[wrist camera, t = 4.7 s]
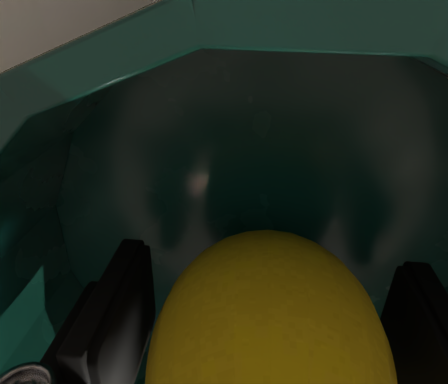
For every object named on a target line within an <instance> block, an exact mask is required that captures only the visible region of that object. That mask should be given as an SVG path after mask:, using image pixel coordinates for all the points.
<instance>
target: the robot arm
mask: <svg viewBox="0 0 448 384" xmlns="http://www.w3.org/2000/svg"><path fill="white" fill-rule="evenodd" d="M155 317H156V307H155V295H154V284H153V273H152V261H151V250H150V246H149V245H145V244H144V241H143V240H135V239H123V240H122V241H121V243H120V245H119V247H118V248H117V250H116V252H115V253H114V255H113V257H112V259H111V260H110V262H109V264H108V265H107V267H106V269H105V271H104V272H103V274H102V276H101V278H100V279H99V281H98V282H97V281H91V282H89V283H88V284H87V286H86V287H85V289H84V290H83V292H82V294H81V295H80V297H79V298H78V300H77V302H76V303H75V305H74V307H73V308H72V310H71V311H70V313H69V315H68V316H67V318H66V320H65V321H64V323H63V325H62V326H61V328H60V329H59V331H58V333H57V334H56V336H55V338H54V339H53V341H52V343H51V344H50V346H49V347H48V349H47V351H46V352H45V354H44V356H43V357H42V359H41V360H40V362H34V361H33V362H26V363H22V364H19V365H16V366H14V367H11V368H10V369H8V370H7V371H5V372H3V373H2V374H0V384H134V382H135V379H136V376H137V373H138V370H139V367H140V364H141V361H142V358H143V355H144V352H145V349H146V346H147V343H148V340H149V337H150V334H151V331H152V329H153V326H154V322H155ZM380 321H381V324H382V326H383V328H384V331H385V334H386V336H387V339H388V341H389V345H390V348H391V352H392V355H393V360H394V365H395V370H396V376H397V384H448V293H447V291H446V290H445V288H444V287H443V285H442V283H441V282H440V280H439V278H438V277H437V275H436V273H435V272H434V270H433V268H432V267H431V265H430V264H429V263H424V262H412V261H406V262H404V263H403V266H398V267H397V268H396V270H395V273H394V276H393V280H392V283H391V286H390V289H389V292H388V295H387V299H386V302H385V305H384V308H383V311H382V314H381V317H380Z"/></svg>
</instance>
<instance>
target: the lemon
mask: <svg viewBox="0 0 448 384" xmlns="http://www.w3.org/2000/svg"><path fill="white" fill-rule="evenodd" d="M145 384H397V376H396V370H395V365H394V360H393V355H392V352H391V348H390V345H389V341H388V339H387V336H386V334H385V331H384V328H383V326H382V324H381V321H380V319H379V316H378V314H377V312H376V309H375V307H374V305H373V303H372V301H371V299H370V297H369V295H368V294H367V292H366V290H365V289H364V287H363V286H362V284H361V283H360V282H359V281H358V280H357V278H356V277H355V276H354V275H353V274H352V273H351V271H350V270H349V269H348V268H347V267H346V266H345V265H344V264H343V262H342V261H341V260H340V259H338V258H337V257H336V256H335V255H334V254H332V253H331V252H329V251H328V250H326V249H325V248H323V247H322V246H320V245H318V244H317V243H315V242H313V241H311V240H309V239H306V238H304V237H301V236H298V235H296V234H293V233H290V232H282V231H275V230H257V231H246V232H243V233H240V234H236V235H233V236H229V237H227V238H224V239H223V240H221V241H219V242H217V243H216V244H214V245H212V246H210V247H209V248H207V249H205V250H204V251H203V252H202V253H200V254H199V255H198V256H197V257H196V258H195V259H194V260H193V261H192V262H191V263H190V264H189V265H188V266H187V268H186V269H185V270H184V271H183V272H182V273H181V275H180V276H179V277H178V279H177V280H176V282H175V284H174V285H173V287H172V289H171V291H170V293H169V295H168V297H167V299H166V301H165V303H164V305H163V307H162V309H161V311H160V313H159V315H158V318H157V321H156V323H155V326H154V330H153V333H152V337H151V341H150V346H149V352H148V358H147V367H146V377H145Z"/></svg>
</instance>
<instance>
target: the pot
mask: <svg viewBox="0 0 448 384" xmlns="http://www.w3.org/2000/svg"><path fill="white" fill-rule="evenodd" d="M257 230H275V231H282V232H290V233H293V234H296V235H298V236H301V237H304V238H306V239H309V240H311V241H313V242H315V243H317V244H318V245H320V246H322V247H323V248H325V249H326V250H328V251H329V252H331V253H332V254H334V255H335V256H336V257H337V258H338V259H340V260H341V261H342V262H343V264H344V265H345V266H346V267H347V268H348V269H349V270H350V271H351V273H352V274H353V275H354V276H355V277H356V278H357V280H358V281H359V282H360V283H361V284H362V286H363V287H364V289H365V290H366V292H367V294H368V295H369V297H370V299H371V301H372V303H373V305H374V307H375V309H376V312H377V314H378V316H379V319H380V317H381V314H382V311H383V308H384V305H385V302H386V299H387V295H388V292H389V289H390V286H391V283H392V280H393V276H394V273H395V270H396V268H397V267H398V266H403V263H404V262H406V261H412V262H424V263H429V264H430V265H431V267H432V268H433V270H434V272H435V273H436V275H437V277H438V278H439V280H440V282H441V283H442V285H443V287H444V288H445V290H446V291H447V293H448V0H159V1H157V2H154V3H152V4H150V5H148V6H146V7H143V8H141V9H139V10H137V11H135V12H133V13H130V14H128V15H126V16H124V17H122V18H119V19H117V20H115V21H113V22H111V23H108V24H106V25H104V26H102V27H100V28H98V29H95V30H93V31H91V32H89V33H87V34H84V35H82V36H80V37H78V38H76V39H74V40H71V41H69V42H67V43H65V44H63V45H60V46H58V47H56V48H54V49H52V50H49V51H47V52H45V53H43V54H41V55H39V56H36V57H34V58H32V59H30V60H28V61H25V62H23V63H21V64H19V65H17V66H14V67H12V68H10V69H8V70H6V71H4V72H1V73H0V374H2V373H3V372H5V371H7V370H8V369H10V368H11V367H14V366H16V365H19V364H22V363H26V362H33V361H34V362H40V360H41V359H42V357H43V356H44V354H45V352H46V351H47V349H48V347H49V346H50V344H51V343H52V341H53V339H54V338H55V336H56V334H57V333H58V331H59V329H60V328H61V326H62V325H63V323H64V321H65V320H66V318H67V316H68V315H69V313H70V311H71V310H72V308H73V307H74V305H75V303H76V302H77V300H78V298H79V297H80V295H81V294H82V292H83V290H84V289H85V287H86V286H87V284H88V283H89V282H91V281H97V282H98V281H99V279H100V278H101V276H102V274H103V272H104V271H105V269H106V267H107V265H108V264H109V262H110V260H111V259H112V257H113V255H114V253H115V252H116V250H117V248H118V247H119V245H120V243H121V241H122V240H123V239H135V240H143V241H144V244H145V245H149V246H150V250H151V261H152V273H153V284H154V295H155V307H156V317H155V322H154V326H155V323H156V321H157V318H158V315H159V313H160V311H161V309H162V307H163V305H164V303H165V301H166V299H167V297H168V295H169V293H170V291H171V289H172V287H173V285H174V284H175V282H176V280H177V279H178V277H179V276H180V275H181V273H182V272H183V271H184V270H185V269H186V268H187V266H188V265H189V264H190V263H191V262H192V261H193V260H194V259H195V258H196V257H197V256H198V255H199V254H200V253H202V252H203V251H204V250H205V249H207V248H209V247H210V246H212V245H214V244H216V243H217V242H219V241H221V240H223V239H224V238H227V237H229V236H233V235H236V234H240V233H243V232H246V231H257ZM154 326H153V329H152V331H151V334H150V337H149V340H148V343H147V346H146V349H145V352H144V355H143V358H142V361H141V364H140V367H139V370H138V373H137V376H136V379H135V382H134V384H145V377H146V367H147V358H148V352H149V346H150V341H151V337H152V333H153V330H154Z"/></svg>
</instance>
